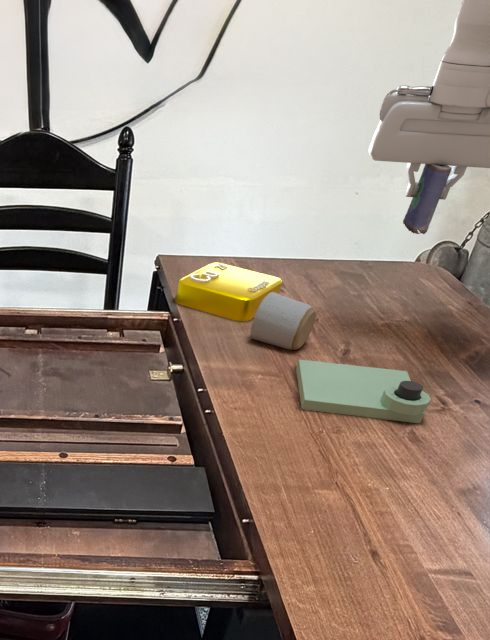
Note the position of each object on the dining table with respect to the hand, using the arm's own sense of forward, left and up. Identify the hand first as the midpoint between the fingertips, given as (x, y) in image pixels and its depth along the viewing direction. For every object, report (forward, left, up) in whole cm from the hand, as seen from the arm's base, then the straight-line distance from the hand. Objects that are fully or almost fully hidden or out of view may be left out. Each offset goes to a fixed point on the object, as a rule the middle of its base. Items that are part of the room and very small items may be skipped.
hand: (424, 197), depth 110 cm
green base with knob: (+6, +27, -21) cm, 35 cm away
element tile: (+25, -7, -21) cm, 34 cm away
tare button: (+1, +32, -18) cm, 36 cm away
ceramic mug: (+16, +9, -21) cm, 28 cm away
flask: (0, 0, -4) cm, 4 cm away
